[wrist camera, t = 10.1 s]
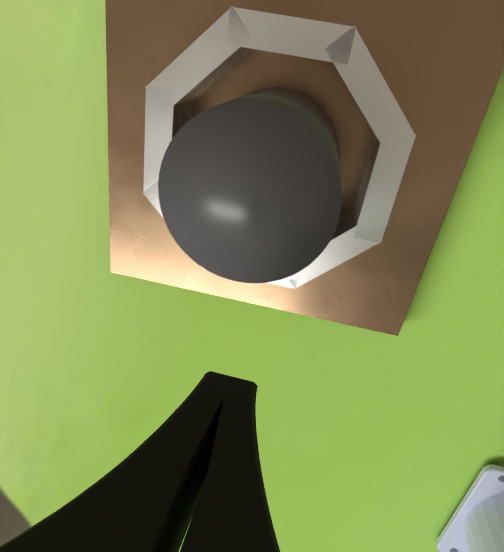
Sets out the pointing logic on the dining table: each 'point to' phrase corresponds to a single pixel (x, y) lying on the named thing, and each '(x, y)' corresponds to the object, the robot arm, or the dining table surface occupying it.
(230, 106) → the dark grey cylinder peg
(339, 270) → the octagonal socket plate
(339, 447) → the dining table surface
